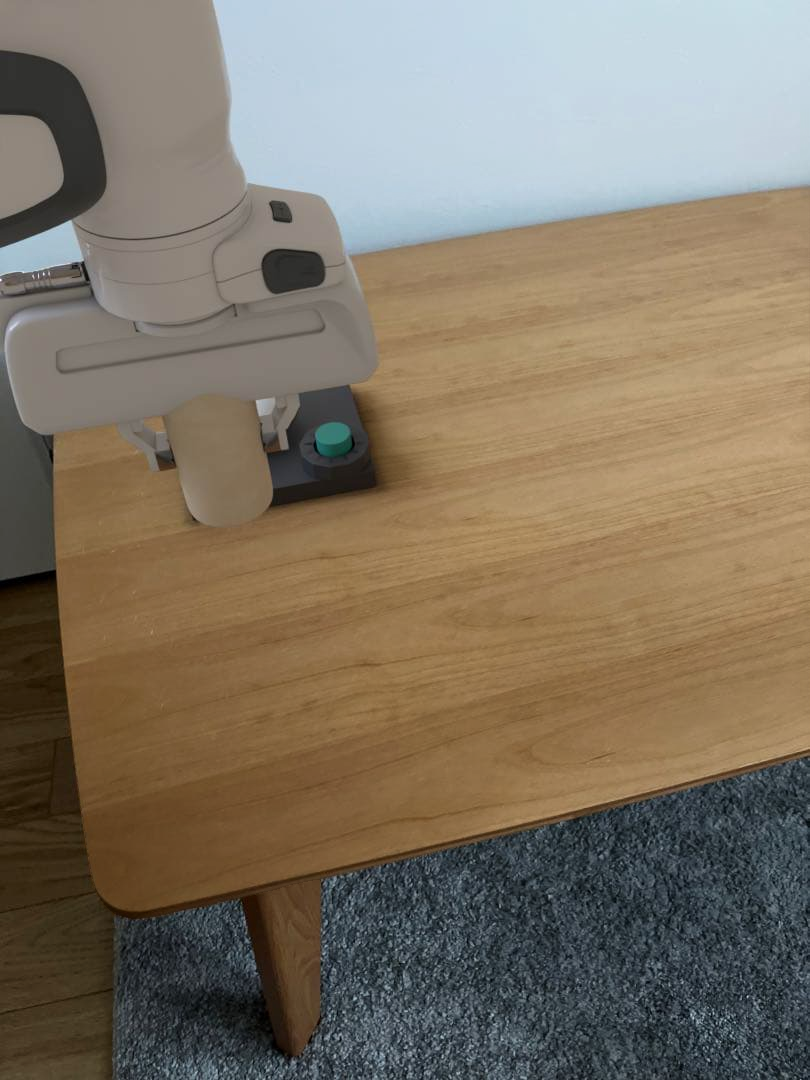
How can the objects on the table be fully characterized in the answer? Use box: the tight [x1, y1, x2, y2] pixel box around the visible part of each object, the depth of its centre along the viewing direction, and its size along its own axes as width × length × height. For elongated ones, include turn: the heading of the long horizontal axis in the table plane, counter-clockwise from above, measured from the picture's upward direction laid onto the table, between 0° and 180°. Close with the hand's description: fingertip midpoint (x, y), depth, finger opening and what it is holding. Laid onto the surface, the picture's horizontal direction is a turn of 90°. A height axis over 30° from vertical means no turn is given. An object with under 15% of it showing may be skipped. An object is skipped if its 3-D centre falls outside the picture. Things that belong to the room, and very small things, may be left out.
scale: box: [190, 385, 378, 521], centre depth 90 cm, size 16×14×4 cm
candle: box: [161, 393, 273, 528], centre depth 61 cm, size 6×6×10 cm
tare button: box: [315, 422, 352, 458], centre depth 86 cm, size 3×3×2 cm
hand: (221, 454), depth 62 cm, fingers closed on candle, 5 cm apart
